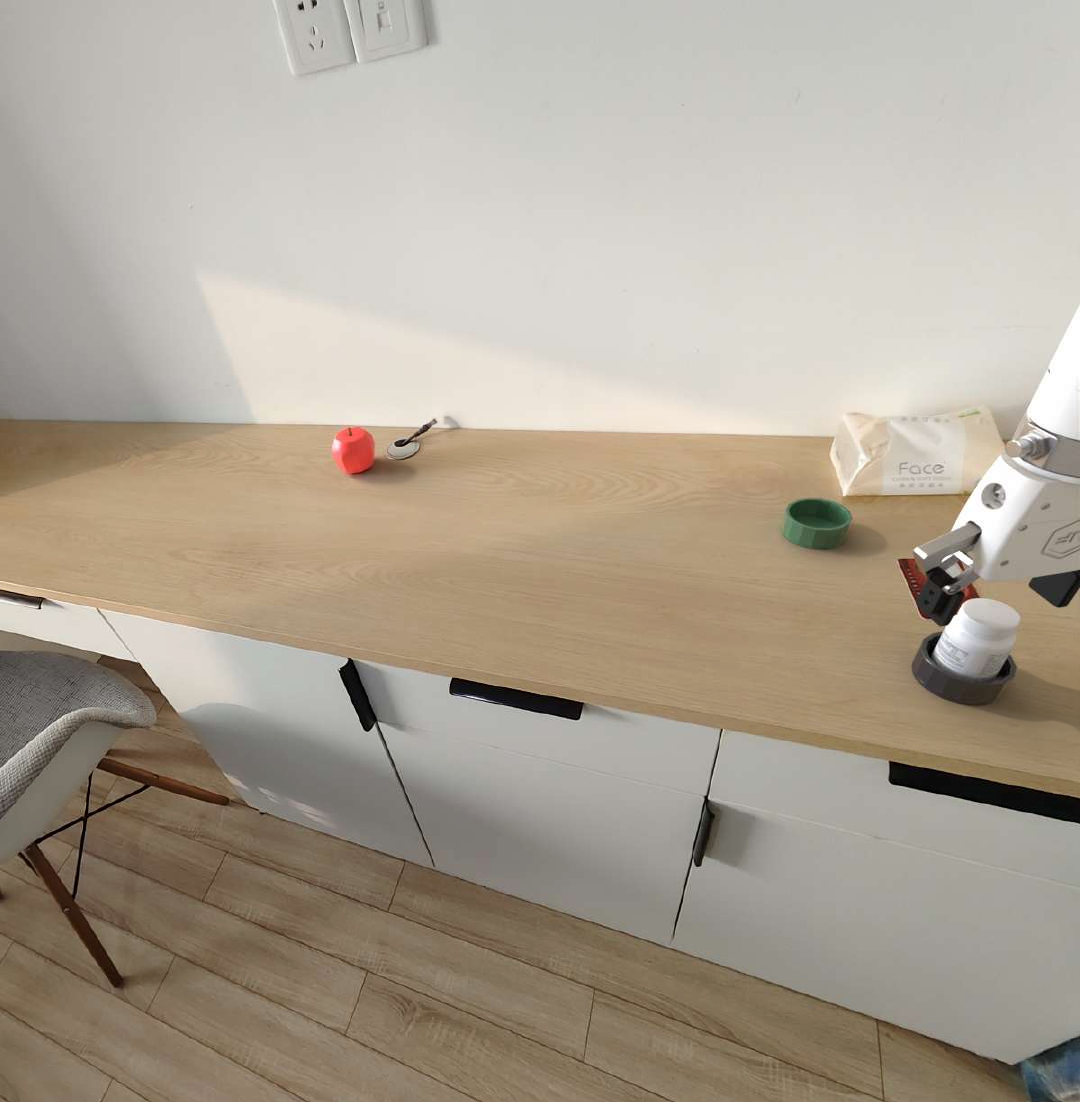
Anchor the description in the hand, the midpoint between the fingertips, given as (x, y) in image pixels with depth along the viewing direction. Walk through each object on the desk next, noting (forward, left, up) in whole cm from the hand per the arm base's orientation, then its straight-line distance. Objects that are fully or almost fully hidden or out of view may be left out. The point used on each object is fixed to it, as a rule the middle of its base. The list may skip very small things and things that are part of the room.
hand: (988, 605), depth 59 cm
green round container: (+16, -17, -9) cm, 25 cm away
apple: (+84, -4, -10) cm, 84 cm away
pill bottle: (0, 0, -9) cm, 9 cm away
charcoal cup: (0, 0, -9) cm, 9 cm away
